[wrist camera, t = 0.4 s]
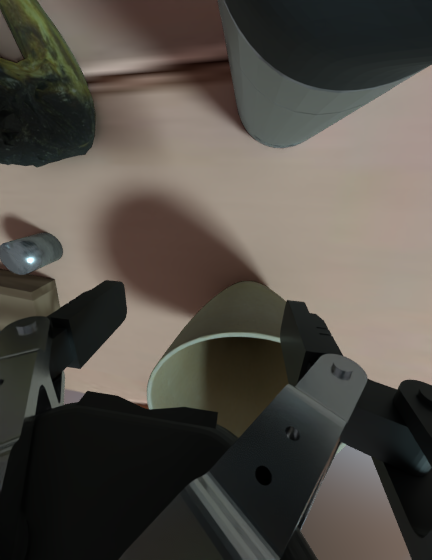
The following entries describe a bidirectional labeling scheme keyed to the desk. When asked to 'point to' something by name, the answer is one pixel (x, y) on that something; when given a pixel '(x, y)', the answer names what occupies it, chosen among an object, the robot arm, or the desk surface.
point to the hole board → (25, 297)
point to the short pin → (30, 252)
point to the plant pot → (226, 358)
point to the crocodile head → (42, 93)
